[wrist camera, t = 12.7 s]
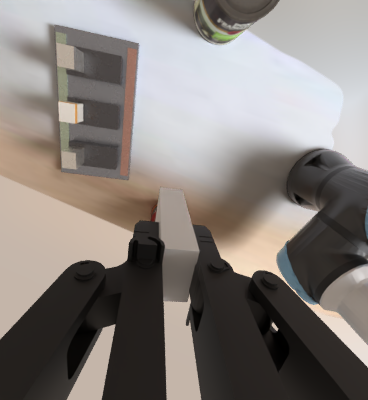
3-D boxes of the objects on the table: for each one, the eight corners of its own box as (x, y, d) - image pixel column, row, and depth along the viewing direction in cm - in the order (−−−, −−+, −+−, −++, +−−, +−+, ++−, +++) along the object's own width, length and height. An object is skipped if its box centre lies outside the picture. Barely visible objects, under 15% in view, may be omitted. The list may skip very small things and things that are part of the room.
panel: (139, 45, 41) (134, 31, 33) (129, 178, 51) (123, 192, 43) (58, 27, 39) (31, 7, 31) (64, 169, 49) (45, 183, 41)
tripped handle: (83, 103, 40) (74, 104, 36) (83, 121, 41) (74, 123, 37) (68, 101, 40) (57, 101, 35) (69, 119, 41) (58, 121, 37)
